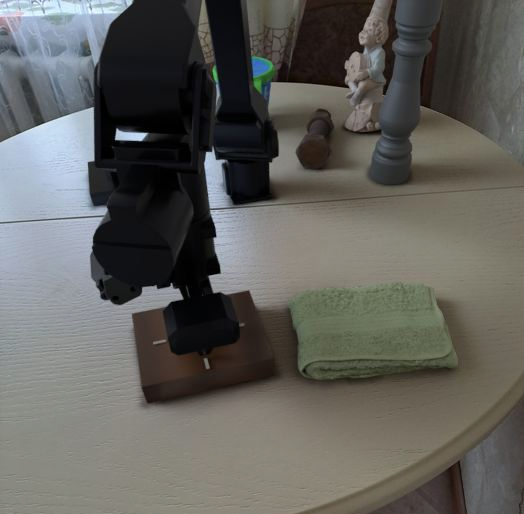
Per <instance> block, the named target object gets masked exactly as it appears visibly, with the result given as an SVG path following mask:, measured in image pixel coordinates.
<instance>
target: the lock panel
mask: <svg viewBox="0 0 524 514" xmlns="http://www.w3.org/2000/svg"><path fill="white" fill-rule="evenodd" d="M250 291H251V290H249V289H248V290H242V291H237V292H232V293H228V294H226V295H227V296H229V297H231V300H232V303H233V306H234V309H235V312H236V315H237V318H238V321H239V327H240V339H239V340H238V341H237V342H236V343H235V344H230V345H226V346H221V347H216V348H213V350H212V351H211V353H210V354H209V355H205V356H200V355H199V354H198V352H193V353H188V354H184V355H179V356H178V355H176V354H174V353H172V352H171V350H170V346H169V342H168V338H167V333H166V328H165V322H164V317H163V312H162V311H163V310H164V309H165V308H166V307H167V306H162V307H157V308H153V309H148V310H142V311H137V312H133V313H132V312H131V319H132V327H133V333H134V334H133V335H134V342H135V351H136V357H137V366H138V372H139V378H140V379H139V381H140V388H141V391H142V393H143V396H144V398H145V399H144V400H145V402H146V404H152V403H156V402H160V401H165V400H170V399H174V398H178V397H182V396H187V395H193V394H195V393H201V392H204V391H210V390H214V389H218V388H223V387H226V386H231V385H235V384H239V383H245V382H250V381H254V380H258V379H263V378H266V377H271V376H274V375H275V356H274V353H273V351H272V348H271V346H270V342H269V340H268V337H267V334H266V332H265V329H264V327H263V323H262V321H261V318H260V315H259V313H258V310H257V307H256V305H255V302H254V299H253V296H252V293H251V292H250Z"/></svg>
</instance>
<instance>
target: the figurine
mask: <svg viewBox="0 0 524 514" xmlns="http://www.w3.org/2000/svg"><path fill="white" fill-rule="evenodd" d="M393 1H394V0H374V2H373V5H372V8H371V11H370V13H369V15H368V17H367V18H366V20H365V23H364V26H363V30H361V32H359V34H358V41H359V45H361V46H363V47H364V49H363V52H362V53H361V52H358V51H354V52H353V53H352V54H351V55H350V57H349V59H348V60H345V63H344V69H345V70H346V75H345V78H344V83H345V85H346V86H348V88H349V89H350V90H351V91H350V92H348V93H346V94H345V98H346V99H349V101H350V102H349V104H350V106H351V107H354V108H355V109H354V110H353V111H352V112H351V113H350V114H349V116H348V117H347V119H346V120H345V123H344V127H345V129H347V130H349V131H352V132H358V133H365V132H375V131H381V130H382V129H381V128H380V125H379V121H378V116H379V110H380V108H381V105H382V103H383V100H384V98H385V95H384V86H385V85H386V84H387V79H386V78H385V76H384V74H383V72H384V71H385V69H386V68H385V67H386V63H385V60H386V51H385V50H384V49H383V47H382V46H383V45H384V44H385V43H386V41H387V40H388V38H389V26H388V20H389V16H390V11H391V9H392V4H393Z"/></svg>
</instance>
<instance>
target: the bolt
mask: <svg viewBox="0 0 524 514" xmlns="http://www.w3.org/2000/svg"><path fill="white" fill-rule="evenodd" d="M305 129H306V132H307V134H305V135H303V137H302V139H301V141H300V142H299V144H298V146H297V147H296V149H295V155H296V157H297V159H298V161H299V163H300V165H301V166H302V168H305V169H308V170H320V169H322V168H323V167H324V166H325V164H326V163H327V162H328V160H329V159H330V157H331V155H332V149H331V147H330V145H329V143H328V141H327V140H328V139H329V138H330V136H331V134H332V133H333V131H334V130H335V124H334V121H333V119H332V113H331V112H330V111H329V110H327V109H325V108H317V109H316V110H315V111H314V112H312V114H311V116H310V117H309V119H308V121H307V123H306V124H305Z"/></svg>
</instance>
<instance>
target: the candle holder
mask: <svg viewBox="0 0 524 514" xmlns="http://www.w3.org/2000/svg"><path fill="white" fill-rule="evenodd" d="M443 6H444V0H397V1H396V7H395V12H394V21H395V28H396V30H397V36H398V37H397V38H396V39H395V40H394V41H393V42H392V46H391V50H392V52H394V55H395V59H394V63H393V70H392V77H391V78H390V82H389V84H388V87H387V90H386V93H385V95H384V97H385V98H384V100H383V103H382V105H381V108H380V110H379V116H378V121H379V125H380V128H381V129H380V130H381V135H382V136H380V137H379V139H378V140H377V141H376V142H375V147H374V150H373V151H372V154H371V155H372V157H371V162H370V169H369V176H370V178H371V179H372V180H373V181H375V182H377V183H379V184H381V185H382V184H383V185H391V186H394V185H401V184H402V183H404V182H406V181H407V180H408V179H409V175H410V170H411V166H412V161H413V154H412V151H413V144H412V142H411V139H410V137H411V136H412V133H413V132H414V131H415V130H416V129H417V127H418V126H419V124H420V121H421V117H422V115H421V76H422V72H423V66H424V62H425V57H427V55H428V54H429V53H430V52H432V49H433V44H432V42H431V41H430V40H429V38H430V37H431V35H432V33H433V31H435V29H436V27H437V24H438V23H439V22H440V20H441V14H442V10H443Z"/></svg>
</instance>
